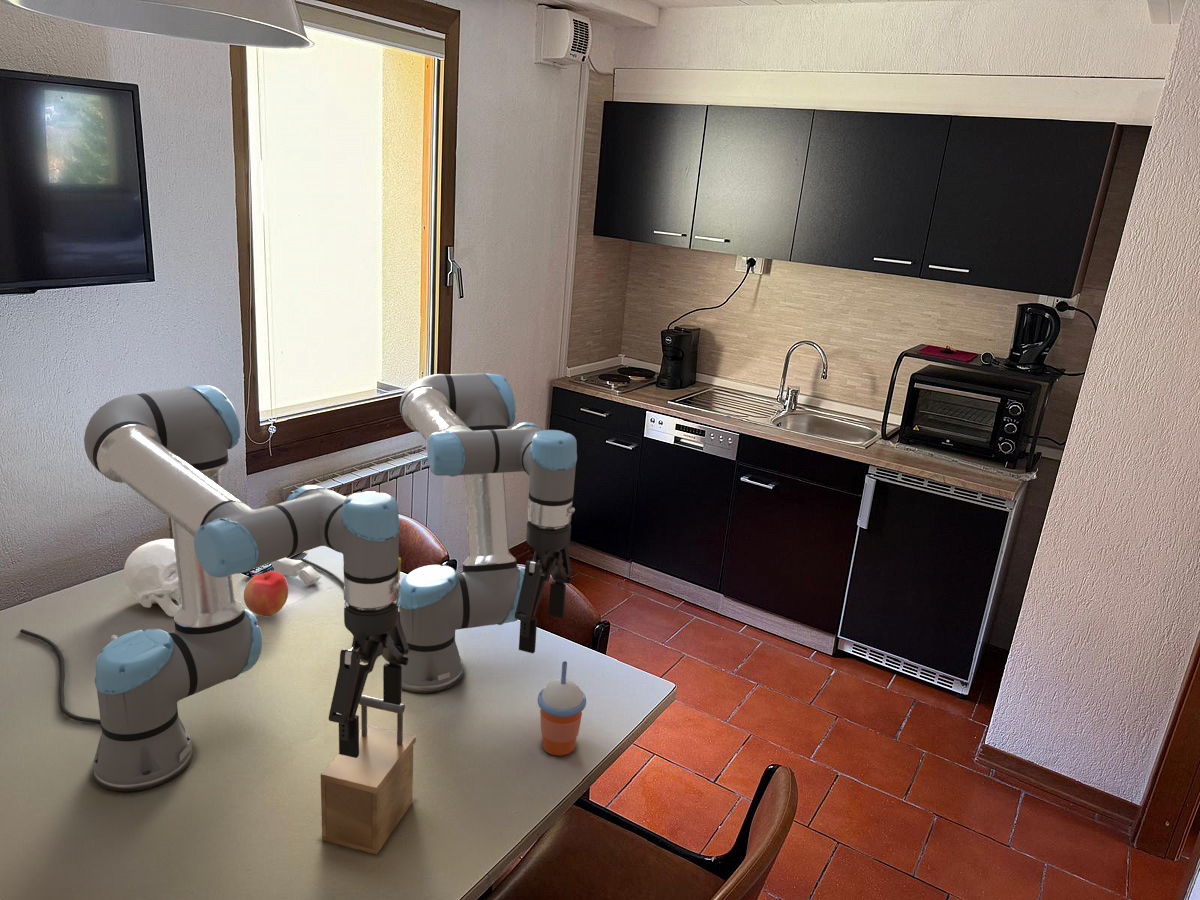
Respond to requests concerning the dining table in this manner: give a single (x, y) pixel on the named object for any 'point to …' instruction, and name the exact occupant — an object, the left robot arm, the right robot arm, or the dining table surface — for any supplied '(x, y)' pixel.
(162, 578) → the skull
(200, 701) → the dining table surface
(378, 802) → the chest
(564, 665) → the cup with straw
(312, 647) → the dining table surface
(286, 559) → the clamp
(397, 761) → the lid
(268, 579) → the apple
